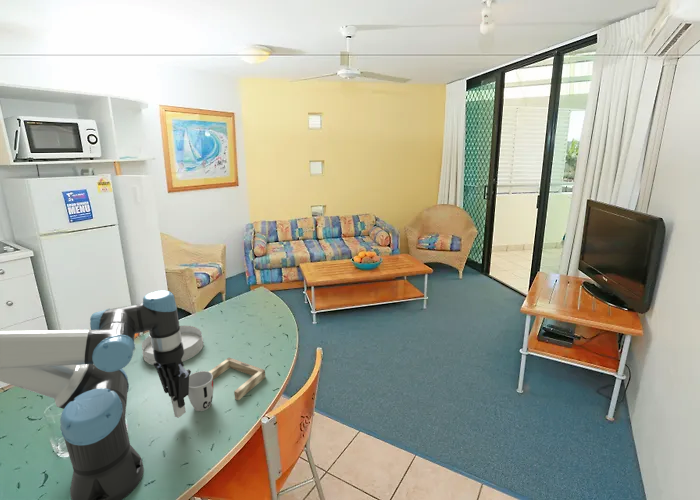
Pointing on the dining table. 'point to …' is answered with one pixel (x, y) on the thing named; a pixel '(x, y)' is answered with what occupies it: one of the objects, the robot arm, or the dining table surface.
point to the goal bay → (254, 371)
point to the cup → (201, 390)
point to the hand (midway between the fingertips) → (180, 414)
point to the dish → (189, 339)
